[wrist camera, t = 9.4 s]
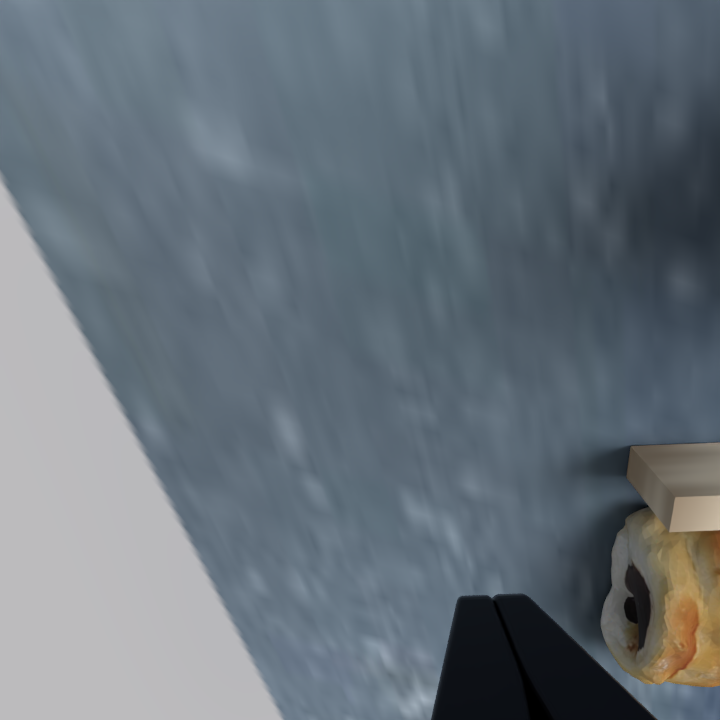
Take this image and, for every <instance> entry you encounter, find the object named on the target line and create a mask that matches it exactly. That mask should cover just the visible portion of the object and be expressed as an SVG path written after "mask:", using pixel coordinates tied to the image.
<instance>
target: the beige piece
mask: <svg viewBox="0 0 720 720" xmlns="http://www.w3.org/2000/svg"><path fill="white" fill-rule="evenodd" d="M626 478H627V479H628V480H629V481H630V483H631V484H632V485H633V487H634V488H635V489H636V490H637V492H638V493H639V494H640V496H641V497H642V498H643V499H644V501H645V502H646V503H647V504H648V506H649V507H650V508H651V510H652V511H653V512H654V513H655V515H656V516H657V517H658V519H659V520H660V521H661V522H662V524H663V525H664V526H665V528H666V529H667V530H668V531H669V532H688V531H713V530H720V443H696V444H670V445H644V446H631V447H630V455H629V462H628V469H627V476H626Z"/></svg>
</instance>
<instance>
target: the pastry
mask: <svg viewBox="0 0 720 720" xmlns="http://www.w3.org/2000/svg"><path fill="white" fill-rule="evenodd" d="M611 556H612V566H611V578H612V588H611V591H610V592H609V594H608V596H607V598H606V600H605V603H604V606H603V610H602V617H601V629H602V633H603V636H604V639H605V642H606V644H607V646H608V648H609V650H610V652H611V653H612V655H613V656H614V658H615V660H616V661H617V662H618V664H619V665H620V666H621V668H622V669H623V670H624V671H626V672H627V673H629V674H630V675H632V676H633V677H635V678H637V679H638V680H640V681H642V682H643V683H645V684H653V683H655V684H659V685H660V684H662V683H663V682H664V681H666V682H671V683H675V684H684V685H690V686H700V687H714V686H719V685H720V530H713V531H688V532H669V531H668V530H667V529H666V528H665V526H664V525H663V524H662V522H661V521H660V520H659V519H658V517H657V516H656V515H655V513H654V512H653V511H652V510H651V508H650V507H647V508H644V509H641V510H638V511H636V512H634V513H632V514H631V515H629V516H628V517H627V518H626V520H625V526H624V528H623V529H621V530H620V531H619V532H618V533H617V536H616V540H615V543H614V546H613V549H612V553H611Z"/></svg>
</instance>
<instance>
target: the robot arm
mask: <svg viewBox="0 0 720 720" xmlns="http://www.w3.org/2000/svg"><path fill="white" fill-rule="evenodd" d="M431 720H657V719H656V718H655V717H654V716H653V715H652V714H651V713H650V712H649V711H648V710H647V709H646V708H645V707H644V706H643V705H642V704H641V703H640V702H638V701H637V700H636V699H635V698H634V697H633V696H632V695H631V694H630V693H629V692H628V691H627V690H626V689H625V688H624V687H623V686H622V685H621V684H620V683H619V682H618V681H617V680H615V679H614V678H613V677H612V676H611V675H610V674H609V673H608V672H607V671H606V670H605V669H604V668H603V667H602V666H601V665H600V664H599V663H598V662H597V661H596V660H595V659H594V658H592V657H591V656H590V655H589V654H588V653H587V652H586V651H585V650H584V649H583V648H582V647H581V646H580V645H579V644H578V643H577V642H576V641H575V640H574V639H573V638H572V637H571V636H569V635H568V634H567V633H566V632H565V631H564V630H563V629H562V628H561V627H560V626H559V625H558V624H557V623H556V622H555V621H554V620H553V619H552V618H551V617H550V616H549V615H548V614H546V613H545V612H544V611H543V610H542V609H541V608H540V607H539V606H538V605H537V604H536V603H535V602H534V601H533V600H532V599H531V598H530V597H528V596H527V595H525V594H498V595H495V596H494V597H493V598H491V597H489V596H488V595H472V596H461V597H459V598H458V600H457V603H456V608H455V612H454V617H453V621H452V626H451V630H450V635H449V640H448V644H447V649H446V653H445V658H444V663H443V667H442V672H441V676H440V681H439V686H438V690H437V695H436V699H435V704H434V709H433V713H432V718H431Z"/></svg>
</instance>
